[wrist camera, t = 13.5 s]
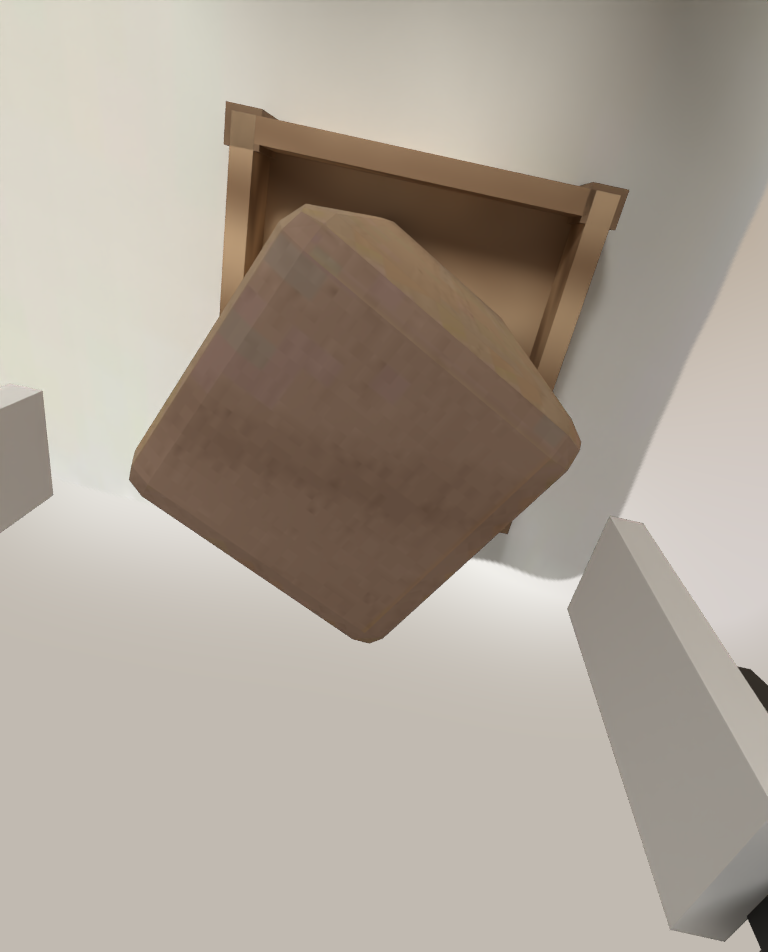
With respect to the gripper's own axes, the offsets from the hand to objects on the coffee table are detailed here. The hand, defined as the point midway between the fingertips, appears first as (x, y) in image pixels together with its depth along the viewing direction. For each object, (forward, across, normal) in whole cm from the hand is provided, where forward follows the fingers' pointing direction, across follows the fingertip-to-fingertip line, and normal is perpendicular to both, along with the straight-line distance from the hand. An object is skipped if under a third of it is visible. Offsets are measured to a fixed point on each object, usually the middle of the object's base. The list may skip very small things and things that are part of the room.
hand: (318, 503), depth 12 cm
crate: (+23, 0, -1) cm, 23 cm away
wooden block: (+22, 0, -1) cm, 23 cm away
